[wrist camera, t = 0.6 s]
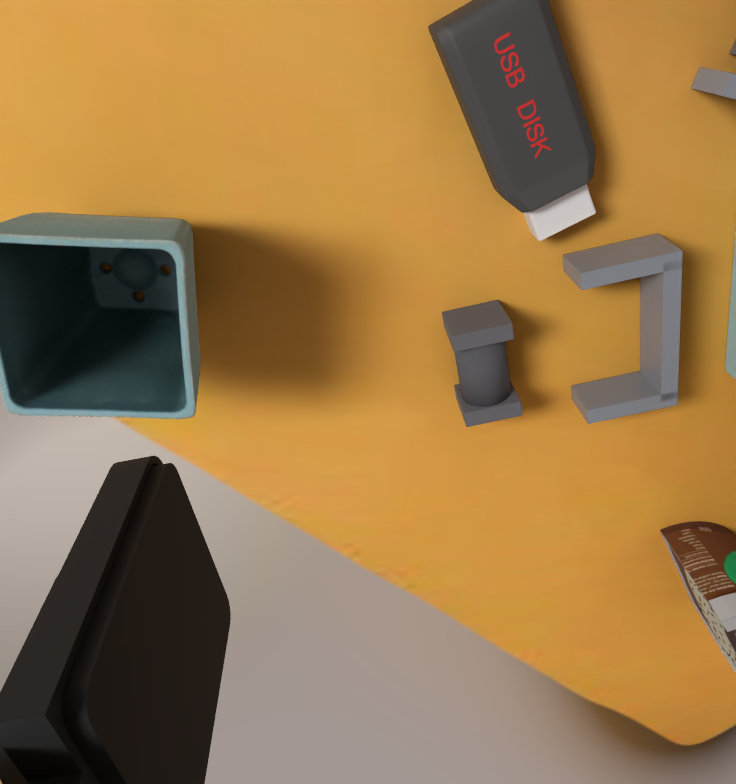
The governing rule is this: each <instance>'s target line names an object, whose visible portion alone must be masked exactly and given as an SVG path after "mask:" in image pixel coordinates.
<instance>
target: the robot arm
mask: <svg viewBox="0 0 736 784" xmlns="http://www.w3.org/2000/svg"><path fill="white" fill-rule="evenodd" d="M229 627H230V606H229V601H228V597H227V594H226V592H225V589H224V587H223V584H222V582H221V579H220V577H219V574H218V572H217V569H216V567H215V564H214V562H213V559H212V557H211V554H210V552H209V549H208V547H207V544H206V542H205V539H204V536H203V534H202V532H201V529H200V526H199V524H198V521H197V519H196V517H195V514H194V511H193V509H192V506H191V504H190V501H189V499H188V496H187V494H186V491H185V489H184V486H183V484H182V481H181V479H180V476H179V474H178V471H177V469H176V467H175V466H174V465H173V464H171V463H168V464H163V463H162V461H161V460H160V459H159V458H158V457H156V456H150V457H144V458H139V459H133V460H128V461H123V462H118V463H115V464H113V466H112V467H111V468H110V470H109V473H108V475H107V477H106V479H105V481H104V483H103V485H102V487H101V489H100V491H99V493H98V495H97V497H96V499H95V502H94V503H93V505H92V508H91V509H90V511H89V514H88V516H87V518H86V520H85V522H84V524H83V526H82V528H81V530H80V532H79V534H78V536H77V538H76V540H75V542H74V544H73V546H72V549H71V551H70V553H69V555H68V557H67V559H66V561H65V563H64V565H63V567H62V569H61V571H60V573H59V575H58V576H57V578H56V579H55V582H54V584H53V586H52V588H51V590H50V592H49V594H48V596H47V598H46V600H45V602H44V604H43V606H42V608H41V610H40V612H39V614H38V616H37V618H36V620H35V622H34V624H33V627H32V629H31V631H30V633H29V635H28V637H27V639H26V641H25V643H24V645H23V647H22V649H21V651H20V653H19V655H18V657H17V659H16V662H15V663H14V666H13V668H12V670H11V672H10V674H9V676H8V678H7V680H6V682H5V684H4V686H3V688H2V690H1V692H0V784H204V783H205V776H206V770H207V764H208V758H209V752H210V745H211V739H212V733H213V726H214V720H215V714H216V708H217V702H218V696H219V689H220V683H221V677H222V671H223V664H224V658H225V652H226V645H227V640H228V633H229Z"/></svg>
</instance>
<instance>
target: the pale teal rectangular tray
mask: <svg viewBox="0 0 736 784" xmlns="http://www.w3.org/2000/svg"><path fill="white" fill-rule="evenodd" d="M725 370H726V371H727V372H728V373H729V374H730V375H731V376H732V377H734V378H735V379H736V232H735V245H734V258H733V271H732V285H731V298H730V311H729V324H728V337H727V350H726V363H725Z"/></svg>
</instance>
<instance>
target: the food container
mask: <svg viewBox="0 0 736 784" xmlns="http://www.w3.org/2000/svg"><path fill="white" fill-rule="evenodd" d="M660 532H661V534H662V536H663V538H664V541H665V543H666V545H667V547H668V550H669V552H670V554H671V556H672V559H673V561H674V563H675V565H676V567H677V570H678V572H679V574H680V576H681V579H682V581H683V583H684V585H685V588H686V590H687V592H688V594H689V597H690V599H691V601H692V603H693V605H694V606H695V608H696V610H697V611H698V613H699V615H700V616H701V618H702V619H703V621H704V623H705V624H706V626H707V628H708V629H709V631H710V633H711V634H712V636H713V637H714V639H715V641H716V642H717V644H718V646H719V647H720V649H721V651H722V652H723V654H724V656H725V657H726V659H727V660H728V662H729V664H730V665H731V667H732V669H733V670H734V672H735V674H736V536H735V535H734V534H733V533H732V532H731V531H730V530H728V529H727V528H725V527H723V526H721V525H719V524H715V523H711V522H701V521H700V522H686V523H680V524H676V525H672V526H669V527H667V528H664V529H661V530H660Z"/></svg>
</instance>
